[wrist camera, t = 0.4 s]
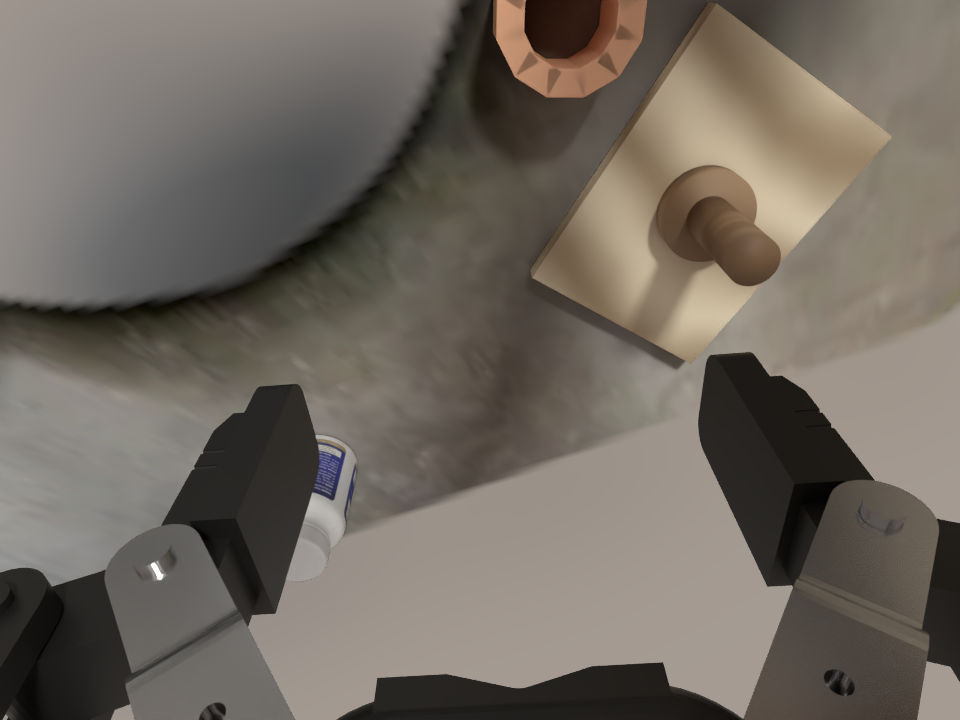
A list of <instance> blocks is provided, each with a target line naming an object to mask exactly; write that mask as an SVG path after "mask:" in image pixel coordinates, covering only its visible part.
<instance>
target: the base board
mask: <svg viewBox="0 0 960 720" xmlns="http://www.w3.org/2000/svg"><path fill="white" fill-rule="evenodd" d="M891 137H892V136H891V135H889V134H888V133H887V132H885V131H884V130H883V129H881V128H880V127H879V126H877V125H876V124H875V123H874V122H872V121H871V120H870V119H868V118H867V117H866V116H864V115H863V114H862V113H860V112H859V111H858V110H856V109H855V108H854V107H853V106H851V105H850V104H849V103H847V102H846V101H845V100H843V99H842V98H841V97H839V96H838V95H837V94H835V93H834V92H833V91H832V90H830V89H829V88H828V87H826V86H825V85H824V84H822V83H821V82H820V81H818V80H817V79H816V78H815V77H813V76H812V75H811V74H809V73H808V72H807V71H805V70H804V69H803V68H801V67H800V66H799V65H797V64H796V63H795V62H794V61H792V60H791V59H790V58H788V57H787V56H786V55H784V54H783V53H782V52H780V51H779V50H778V49H776V48H775V47H774V46H773V45H771V44H770V43H769V42H767V41H766V40H765V39H763V38H762V37H761V36H759V35H758V34H757V33H756V32H754V31H753V30H752V29H750V28H749V27H748V26H746V25H745V24H744V23H742V22H741V21H740V20H738V19H737V18H736V17H735V16H733V15H732V14H731V13H729V12H728V11H727V10H725V9H724V8H723V7H721V6H720V5H719V4H717V3H710V2H708V4H707V5H706V7H705V8H704V10H703V11H702V13H701V14H700V16H699V17H698V19H697V20H696V22H695V23H694V25H693V26H692V28H691V29H690V31H689V32H688V34H687V35H686V37H685V38H684V40H683V41H682V43H681V44H680V46H679V47H678V49H677V50H676V52H675V53H674V55H673V56H672V58H671V59H670V61H669V62H668V64H667V65H666V67H665V68H664V70H663V71H662V73H661V74H660V76H659V77H658V79H657V80H656V82H655V83H654V85H653V86H652V88H651V89H650V91H649V92H648V94H647V95H646V97H645V98H644V100H643V101H642V103H641V104H640V106H639V107H638V109H637V110H636V112H635V113H634V115H633V116H632V118H631V119H630V121H629V122H628V124H627V125H626V127H625V128H624V130H623V131H622V133H621V134H620V136H619V137H618V139H617V140H616V142H615V143H614V145H613V146H612V148H611V149H610V151H609V152H608V154H607V155H606V157H605V158H604V160H603V161H602V163H601V164H600V166H599V167H598V169H597V170H596V172H595V173H594V175H593V176H592V178H591V179H590V181H589V182H588V184H587V185H586V187H585V188H584V190H583V191H582V193H581V194H580V196H579V197H578V199H577V200H576V202H575V203H574V205H573V206H572V208H571V209H570V211H569V212H568V214H567V215H566V217H565V218H564V220H563V221H562V223H561V224H560V226H559V227H558V229H557V230H556V232H555V233H554V235H553V236H552V238H551V239H550V241H549V242H548V244H547V245H546V247H545V248H544V250H543V251H542V253H541V254H540V256H539V257H538V259H537V260H536V262H535V263H534V265H533V266H532V268H531V269H530V271H531V275H532V278H533V279H535V280H537V281H539V282H541V283H543V284H544V285H546V286H548V287H550V288H552V289H554V290H555V291H557V292H559V293H561V294H563V295H565V296H567V297H568V298H570V299H572V300H574V301H576V302H578V303H579V304H581V305H583V306H585V307H587V308H589V309H591V310H592V311H594V312H596V313H598V314H600V315H602V316H604V317H605V318H607V319H609V320H611V321H613V322H615V323H616V324H618V325H620V326H622V327H624V328H626V329H628V330H629V331H631V332H633V333H635V334H637V335H639V336H640V337H642V338H644V339H646V340H648V341H650V342H652V343H653V344H655V345H657V346H659V347H661V348H663V349H664V350H666V351H668V352H670V353H672V354H674V355H676V356H677V357H679V358H681V359H683V360H685V361H687V362H689V363H690V364H691V363H692V362H693V361H694V360H695V359H696V358H697V357H698V355H699V354H700V353H701V352H702V351H703V350H704V349H705V347H706V346H707V345H708V344H709V343H710V342H711V341H712V340H713V338H714V337H715V336H716V335H717V334H718V333H719V332H720V331H721V329H722V328H723V327H724V326H725V325H726V324H727V323H728V321H729V320H730V319H731V318H732V317H733V316H734V315H735V314H736V312H737V311H738V310H739V309H740V308H741V307H742V306H743V304H744V303H745V302H746V301H747V300H748V299H749V298H750V297H751V295H752V294H753V293H754V292H755V291H756V290H757V289H758V288H759V286H760V285H761V284H762V283H760V284H758V285H755V286H741V285H738V284H736V283H734V282H733V281H732V280H731V279H730V278H729V277H728V275H727V274H726V273H725V272H724V271H723V270H722V269H721V267H720V266H719V265H718V264H717V263H716V262H715V261H714V260H712V261H707V262H694V261H689V260H686V259H683V258H681V257H679V256H678V255H676V254H675V253H674V252H673V251H672V250H671V249H670V248H669V246H668V245H667V244H666V242H665V241H664V240H663V238H662V237H661V235H660V233H659V230H658V227H657V220H656V216H657V209H658V205H659V202H660V199H661V197H662V195H663V193H664V192H665V190H666V189H667V188H668V186H669V185H670V184H671V183H672V182H673V181H674V180H675V179H676V178H677V177H679V176H680V175H681V174H683V173H685V172H686V171H688V170H691V169H693V168H696V167H699V166H704V165H718V166H722V167H725V168H728V169H730V170H732V171H733V172H735V173H736V174H737V175H739V176H740V177H742V178H743V179H744V180H745V181H746V182H747V183H748V184H749V185H750V186H751V188H752V189H753V191H754V194H755V197H756V201H757V214H756V219H755V222H754V224H755V225H756V226H757V227H758V228H759V229H760V230H762V231H763V232H764V233H765V234H766V235H767V236H769V237H770V238H771V239H772V240H773V241H775V242H776V244H777V245H778V246H779V248H780V252H781V260H780V263H781V262H782V260H783V259H784V258H785V257H786V256H787V255H788V254H789V252H790V251H791V250H792V249H793V248H794V247H795V246H796V245H797V243H798V242H799V241H800V240H801V239H802V238H803V237H804V236H805V234H806V233H807V232H808V231H809V230H810V229H811V228H812V226H813V225H814V224H815V223H816V222H817V221H818V220H819V219H820V217H821V216H822V215H823V214H824V213H825V212H826V211H827V210H828V208H829V207H830V206H831V205H832V204H833V203H834V202H835V200H836V199H837V198H838V197H839V196H840V195H841V194H842V193H843V191H844V190H845V189H846V188H847V187H848V186H849V185H850V184H851V182H852V181H853V180H854V179H855V178H856V177H857V176H858V174H859V173H860V172H861V171H862V170H863V169H864V168H865V167H866V165H867V164H868V163H869V162H870V161H871V160H872V159H873V158H874V156H875V155H876V154H877V153H878V152H879V151H880V150H881V148H882V147H883V146H884V145H885V144H886V143H887V142H888V141H889V139H890V138H891Z"/></svg>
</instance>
